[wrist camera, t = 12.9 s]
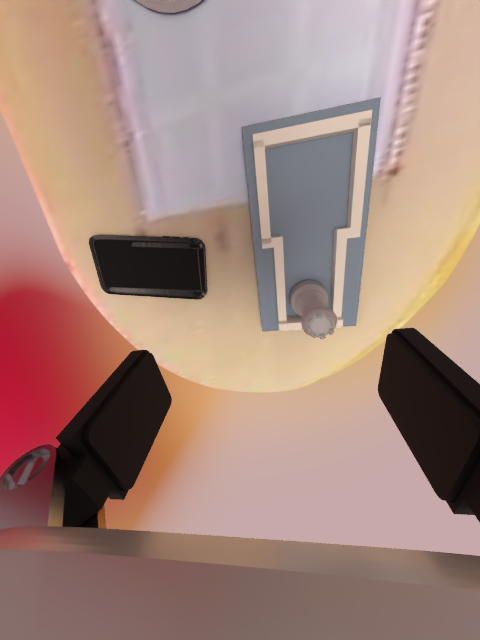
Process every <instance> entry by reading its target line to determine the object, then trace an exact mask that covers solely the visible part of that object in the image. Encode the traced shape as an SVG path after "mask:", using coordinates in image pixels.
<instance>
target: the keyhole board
mask: <svg viewBox="0 0 480 640" xmlns="http://www.w3.org/2000/svg"><path fill="white" fill-rule="evenodd" d="M380 99H381V97H380V98H375V99H371V100H366V101H361V102H357V103H352V104H347V105H343V106H338V107H333V108H328V109H324V110H319V111H314V112H310V113H305V114H300V115H296V116H291V117H286V118H282V119H277V120H272V121H268V122H263V123H258V124H254V125H249V126H244V127H242V136H243V146H244V156H245V166H246V175H247V185H248V195H249V205H250V215H251V224H252V234H253V244H254V254H255V264H256V274H257V283H258V293H259V303H260V313H261V323H262V331H276V330H279V331H289V330H303V329H302V324H301V322H302V316H300V315H298V314H296V313H295V311H294V310H293V309H292V307H291V305H290V301H289V297H290V293H291V291H292V289H293V288H294V287H295V286H296V285H297V284H299V283H300V282H303V281H307V280H312V281H317V282H319V283H320V284H322V285H323V287H324V288H325V289H326V292H327V294H328V303H327V307H328V308H329V309H331V310H333V311H334V313H335V314H336V316H337V324H336V327H335V328H339V327H343V326H356V322H357V312H358V303H359V294H360V285H361V275H362V266H363V257H364V247H365V238H366V229H367V220H368V210H369V201H370V192H371V182H372V173H373V164H374V155H375V145H376V136H377V127H378V117H379V108H380Z"/></svg>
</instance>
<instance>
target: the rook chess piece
mask: <svg viewBox="0 0 480 640" xmlns="http://www.w3.org/2000/svg"><path fill="white" fill-rule="evenodd" d="M289 301H290V305H291V307H292V309H293V310H294V311H295V313H296V314H298V315H300V316H302V322H301V324H302V329H303V330H304V331H305V333H306V334H308V335H310V336H312V337H314V338H316V337H320V339H323V338H326V337H325V336H326V335H327V334H330V335H331V334H332V333H333V332H334V328H335V327H336V324H337V316H336V314H335V313H334V311H333V310H331V309H329V308H328V307H327V303H328V294H327V292H326V289H325V288H324V287H323V285H322V284H320V283H319V282H317V281H312V280H307V281H303V282H300V283H299V284H297V285H296V286H295V287H294V288H293V289H292V291H291V293H290V297H289Z"/></svg>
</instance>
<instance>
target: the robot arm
mask: <svg viewBox="0 0 480 640" xmlns="http://www.w3.org/2000/svg"><path fill="white" fill-rule="evenodd" d="M136 1H138V2H139V3H141V4H142V5H144V6H145V7H147V8H150V9H152V10H155V11H158V12H166V13H175V12H179V11H184V10H187V9H189V8H191V7H192V6H194V5H196V4H198V3H199V2H201V1H202V0H136ZM378 392H379V396H380V398H381V400H382V401H383V403H384V405H385V407H386V408H387V410H388V412H389V414H390V415H391V417H392V419H393V421H394V422H395V424H396V426H397V427H398V429H399V431H400V432H401V434H402V436H403V438H404V439H405V441H406V443H407V445H408V446H409V448H410V450H411V451H412V453H413V455H414V457H415V458H416V460H417V462H418V463H419V465H420V467H421V469H422V470H423V472H424V474H425V476H426V477H427V479H428V481H429V482H430V484H431V486H432V488H433V489H434V491H435V493H436V494H437V496H438V497H439V498H440V499H442V500H445V501H446V502H447V503H448V505H449V507H450V508H451V510H452V512H453V513H454V514H467V515H475V516H476V517H477V519H478V520H479V522H480V384H479V383H478V382H476V381H475V380H474V379H473V378H472V377H471V376H469V375H468V374H467V373H466V372H465V371H464V370H462V369H461V368H460V367H459V366H458V365H457V364H455V363H454V362H453V361H452V360H451V359H450V358H449V357H447V356H446V355H445V354H444V353H443V352H442V351H440V350H439V349H438V348H437V347H435V345H434V344H432V343H431V342H430V341H429V340H428V339H426V338H425V337H424V336H423V335H422V334H421V333H420V332H418V331H417V330H416V329H414V328H405V329H395V330H393V331H392V333H391V334H388V335H387V338H386V344H385V349H384V355H383V361H382V367H381V373H380V379H379V384H378ZM170 405H171V395H170V393H169V391H168V388H167V386H166V384H165V381H164V379H163V377H162V375H161V372H160V370H159V368H158V365H157V363H156V361H155V359H154V356H153V355H152V353H149V351H147V350H138V351H132V352H131V353H130V354H129V355H128V356H127V358H126V359H125V360H124V361H123V362H122V363H121V364H120V365H119V367H118V368H117V369H116V370H115V371H114V372H113V373H112V375H111V376H110V377H109V378H108V379H107V381H105V383H104V384H103V385H102V386H101V387H100V388H99V389H98V391H97V392H96V393H95V394H94V395H93V396H92V397H91V399H90V400H89V401H88V402H87V403H86V404H85V405H84V407H83V408H82V409H81V410H80V411H79V412H78V413H77V414H76V416H75V417H74V418H73V419H72V420H71V421H70V423H69V424H68V425H67V426H66V427H65V428H64V430H62V432H61V433H60V434H59V435H58V436H57V437H56V439H58V441H59V442H60V443H61V444H60V445H59V447H58V448H56V447H55V446H54V445H51V444H45V445H40V446H38V447H36V448H33V449H31V450H29V451H28V452H26V453H25V454H23V455H22V456H21V457H19V458H18V459H16V460H15V461H14V462H13V463H12V464H11V465H10V466H9V467H8V468H7V469H6V470H5V471H4V472H3V474H2V475H1V476H0V640H480V556H473V555H463V554H453V553H441V552H431V551H419V550H406V549H392V548H379V547H365V546H352V545H338V544H325V543H324V544H323V543H311V542H297V541H283V540H269V539H268V540H267V539H254V538H240V537H239V538H238V537H225V536H211V535H196V534H181V533H165V532H164V533H163V532H150V531H133V530H118V529H106V519H105V507H104V503H105V501H106V499H107V498H108V497H109V498H110V499H121V500H124V499H125V496H126V494H127V492H128V490H129V489H131V488H132V487H133V485H134V483H135V481H136V479H137V477H138V475H139V473H140V471H141V469H142V466H143V464H144V462H145V460H146V457H147V455H148V453H149V451H150V449H151V447H152V445H153V442H154V440H155V438H156V436H157V434H158V431H159V429H160V427H161V425H162V423H163V421H164V418H165V416H166V414H167V412H168V410H169V408H170Z"/></svg>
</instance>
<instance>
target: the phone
mask: <svg viewBox="0 0 480 640" xmlns="http://www.w3.org/2000/svg"><path fill="white" fill-rule="evenodd" d="M89 245H90V249H91V252H92V256H93V260H94V263H95V267H96V270H97V274H98V278H99V281H100V285H101V288H102V289H103V290H104V291H105V292H106V293H108V294H118V295H135V296H151V297H167V298H184V299H202V298H203V297H204V296H205V295H206V293H207V276H206V256H205V245H204V243H203V242H202V241H201V240H199V239H196V238H188V237H183V238H179V237H168V236H163V237H144V236H116V235H95V236H92V237H91V238H90V239H89Z"/></svg>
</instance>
